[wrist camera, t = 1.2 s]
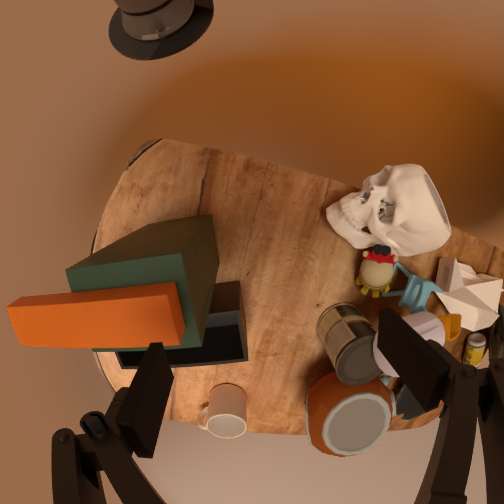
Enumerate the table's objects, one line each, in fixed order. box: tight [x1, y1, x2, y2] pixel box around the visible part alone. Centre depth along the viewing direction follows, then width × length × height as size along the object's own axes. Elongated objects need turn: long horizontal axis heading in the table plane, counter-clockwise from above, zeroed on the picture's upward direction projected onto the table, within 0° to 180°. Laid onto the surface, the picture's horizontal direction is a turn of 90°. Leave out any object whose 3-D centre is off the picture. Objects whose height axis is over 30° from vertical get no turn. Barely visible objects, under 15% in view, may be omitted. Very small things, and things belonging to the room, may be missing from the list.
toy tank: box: [488, 303, 504, 362], centre depth 54 cm, size 14×28×10 cm
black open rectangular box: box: [115, 281, 248, 369], centre depth 48 cm, size 22×9×13 cm, turn 97°
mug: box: [197, 384, 247, 438], centre depth 55 cm, size 12×8×10 cm
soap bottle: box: [373, 311, 462, 377], centre depth 43 cm, size 9×9×25 cm
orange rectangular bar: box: [6, 282, 186, 348], centre depth 22 cm, size 19×4×3 cm, turn 97°
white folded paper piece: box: [435, 257, 504, 332], centre depth 51 cm, size 19×15×26 cm
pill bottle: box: [463, 333, 486, 368], centre depth 59 cm, size 6×6×12 cm
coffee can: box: [317, 303, 382, 385], centre depth 50 cm, size 10×10×14 cm
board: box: [395, 382, 441, 420], centre depth 61 cm, size 22×22×5 cm
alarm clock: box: [305, 371, 396, 457], centre depth 48 cm, size 19×18×17 cm
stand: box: [65, 214, 219, 352], centre depth 37 cm, size 12×9×28 cm
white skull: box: [326, 164, 451, 256], centre depth 45 cm, size 14×20×19 cm
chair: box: [380, 262, 443, 314], centre depth 49 cm, size 8×8×12 cm
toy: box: [356, 244, 398, 298], centre depth 48 cm, size 7×7×15 cm
